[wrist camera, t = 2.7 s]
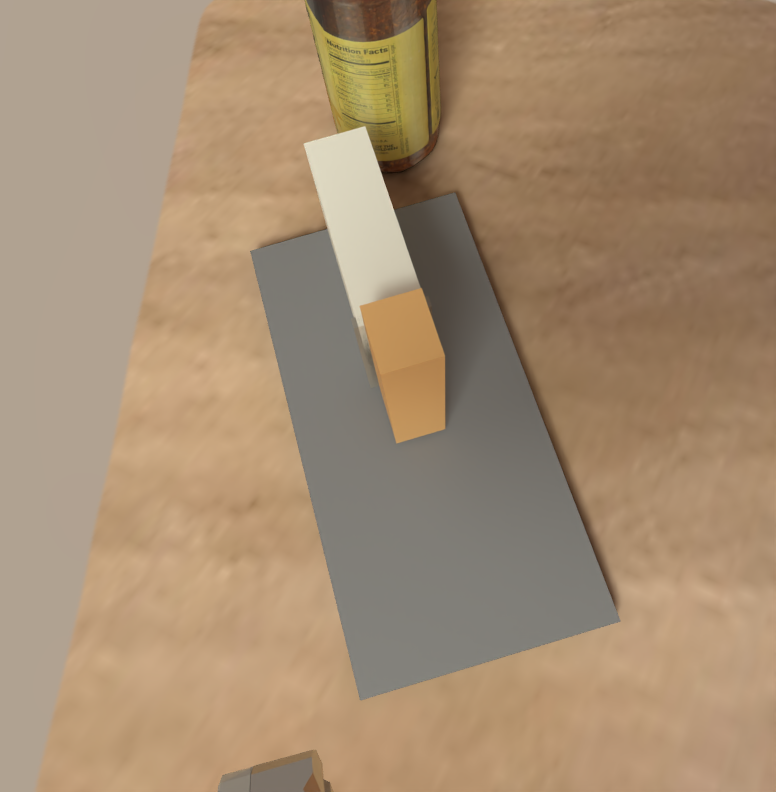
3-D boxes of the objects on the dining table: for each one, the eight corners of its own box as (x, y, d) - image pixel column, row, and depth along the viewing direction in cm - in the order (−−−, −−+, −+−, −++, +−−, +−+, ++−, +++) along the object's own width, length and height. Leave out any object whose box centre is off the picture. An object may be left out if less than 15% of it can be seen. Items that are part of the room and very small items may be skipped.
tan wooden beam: (427, 375, 35) (421, 287, 27) (445, 429, 34) (445, 356, 26) (380, 389, 35) (359, 305, 27) (396, 443, 34) (380, 374, 26)
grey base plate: (454, 205, 40) (456, 100, 33) (614, 622, 32) (667, 612, 24) (255, 262, 40) (210, 169, 32) (363, 698, 32) (336, 713, 24)
